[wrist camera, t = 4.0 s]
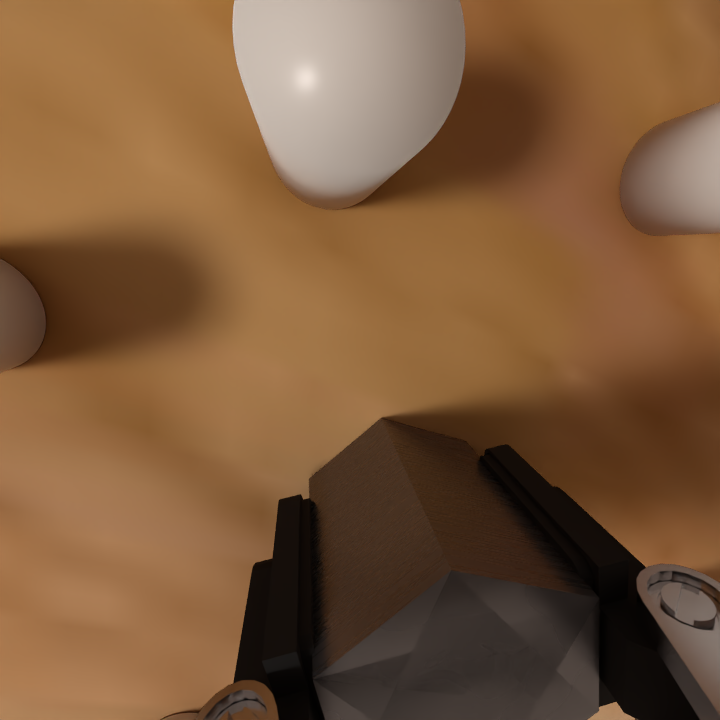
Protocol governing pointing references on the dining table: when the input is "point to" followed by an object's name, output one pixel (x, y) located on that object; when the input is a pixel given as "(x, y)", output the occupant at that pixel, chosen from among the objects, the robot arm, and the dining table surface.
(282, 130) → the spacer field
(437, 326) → the dining table surface
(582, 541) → the robot arm
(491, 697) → the grey faceted polyhedron
